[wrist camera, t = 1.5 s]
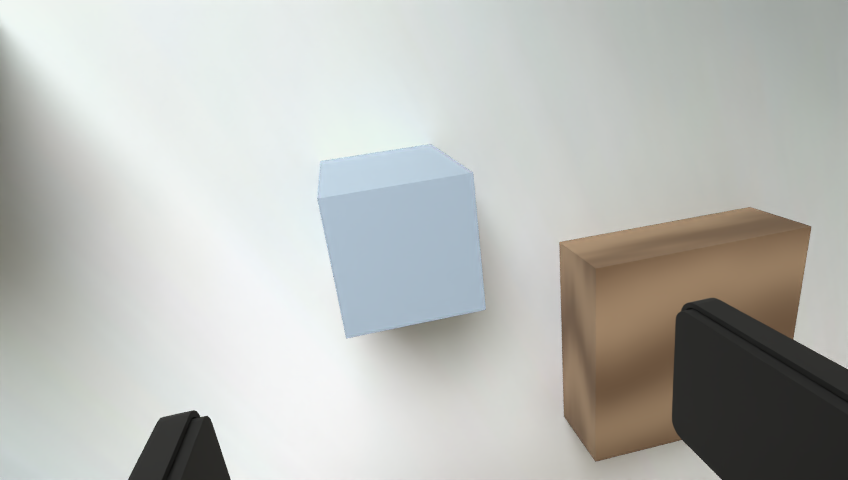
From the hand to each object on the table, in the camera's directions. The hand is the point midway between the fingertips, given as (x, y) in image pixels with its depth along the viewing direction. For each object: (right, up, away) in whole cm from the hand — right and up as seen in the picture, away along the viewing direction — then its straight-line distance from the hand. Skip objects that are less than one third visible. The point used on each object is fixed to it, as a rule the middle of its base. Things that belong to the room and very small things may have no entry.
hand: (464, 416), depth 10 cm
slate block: (-3, +5, +13) cm, 14 cm away
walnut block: (+12, -1, +18) cm, 22 cm away
